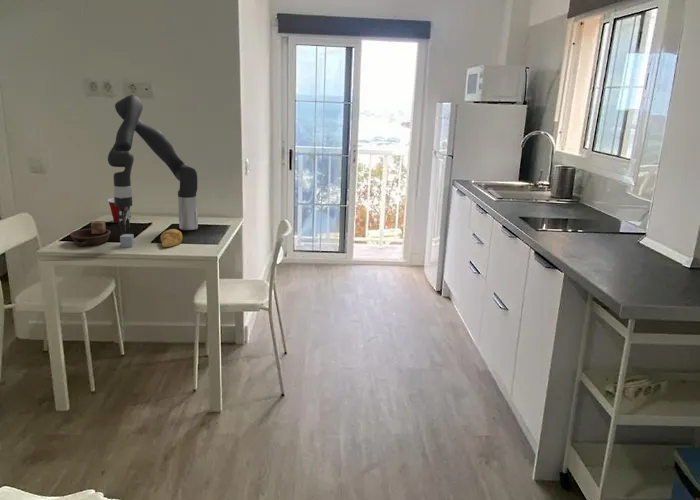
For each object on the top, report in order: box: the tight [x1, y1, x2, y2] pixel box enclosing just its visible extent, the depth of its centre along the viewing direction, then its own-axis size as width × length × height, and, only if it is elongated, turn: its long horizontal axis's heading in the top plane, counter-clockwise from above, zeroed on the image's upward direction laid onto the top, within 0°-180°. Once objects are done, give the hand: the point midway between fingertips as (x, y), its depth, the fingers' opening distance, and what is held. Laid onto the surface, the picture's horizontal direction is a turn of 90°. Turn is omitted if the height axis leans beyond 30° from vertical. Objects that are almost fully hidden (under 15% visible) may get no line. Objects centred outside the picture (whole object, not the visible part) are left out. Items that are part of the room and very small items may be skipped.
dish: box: [69, 228, 111, 247], centre depth 261 cm, size 18×22×5 cm
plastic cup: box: [107, 197, 123, 223], centre depth 303 cm, size 11×11×12 cm
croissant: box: [159, 228, 183, 248], centre depth 265 cm, size 21×10×8 cm, turn 0°
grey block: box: [119, 233, 135, 248], centre depth 258 cm, size 5×5×5 cm
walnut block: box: [90, 220, 107, 234], centre depth 261 cm, size 5×5×5 cm
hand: (125, 230), depth 256 cm, fingers open, 8 cm apart
